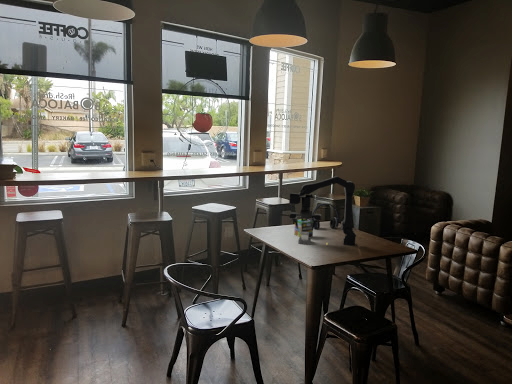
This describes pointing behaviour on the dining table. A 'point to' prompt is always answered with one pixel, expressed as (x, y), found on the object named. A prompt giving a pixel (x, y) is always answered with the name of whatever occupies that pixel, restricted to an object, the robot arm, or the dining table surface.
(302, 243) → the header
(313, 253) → the dining table surface
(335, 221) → the headphones
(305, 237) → the grey box
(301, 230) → the chalk box
